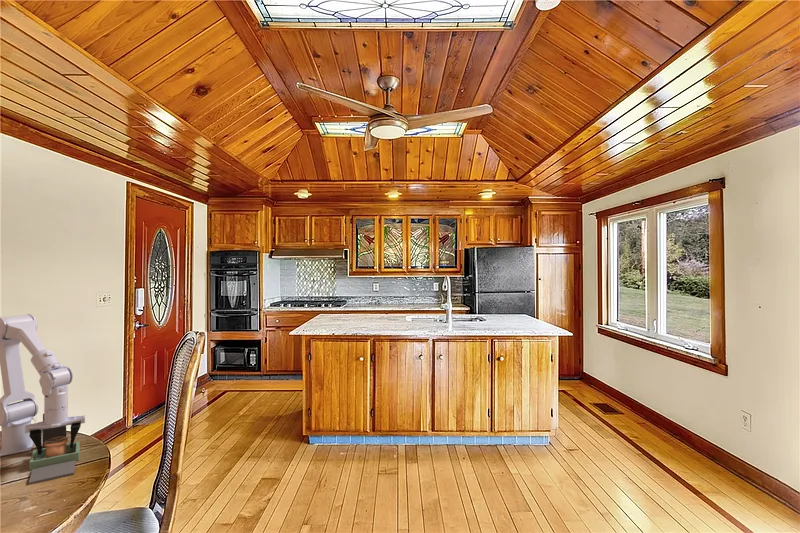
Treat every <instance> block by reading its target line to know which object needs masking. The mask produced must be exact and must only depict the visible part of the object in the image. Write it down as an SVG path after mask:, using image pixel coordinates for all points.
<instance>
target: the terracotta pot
mask: <svg viewBox="0 0 800 533" xmlns="http://www.w3.org/2000/svg"><path fill="white" fill-rule="evenodd" d="M68 440H69V438H68V437H67V436H66V437H56V438H52V439H49V440H47V441H45V442H44V447H46V456H45V457H44V459H45V458H50V457H55V456H60V455H64V454H67V452H66V444H67V442H69V441H68Z"/></svg>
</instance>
